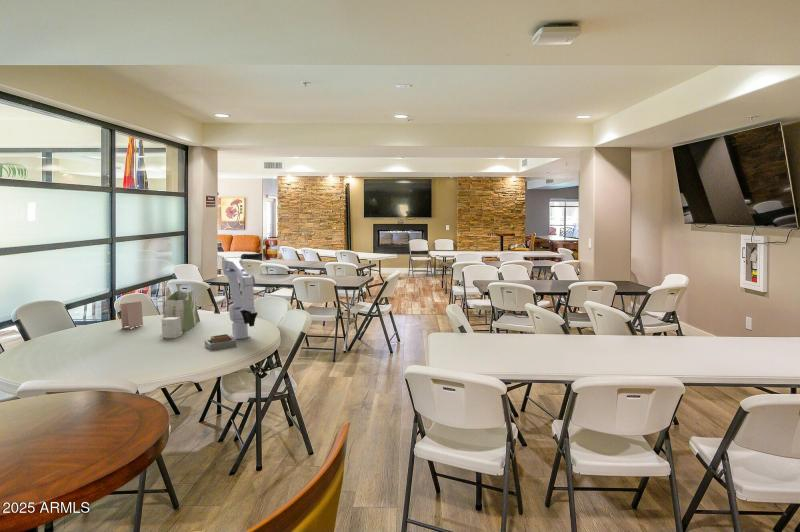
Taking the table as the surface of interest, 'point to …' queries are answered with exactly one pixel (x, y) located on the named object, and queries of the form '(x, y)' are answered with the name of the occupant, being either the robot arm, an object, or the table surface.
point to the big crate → (220, 344)
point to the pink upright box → (131, 314)
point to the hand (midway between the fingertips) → (249, 324)
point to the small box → (171, 327)
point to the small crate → (220, 338)
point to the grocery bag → (182, 309)
